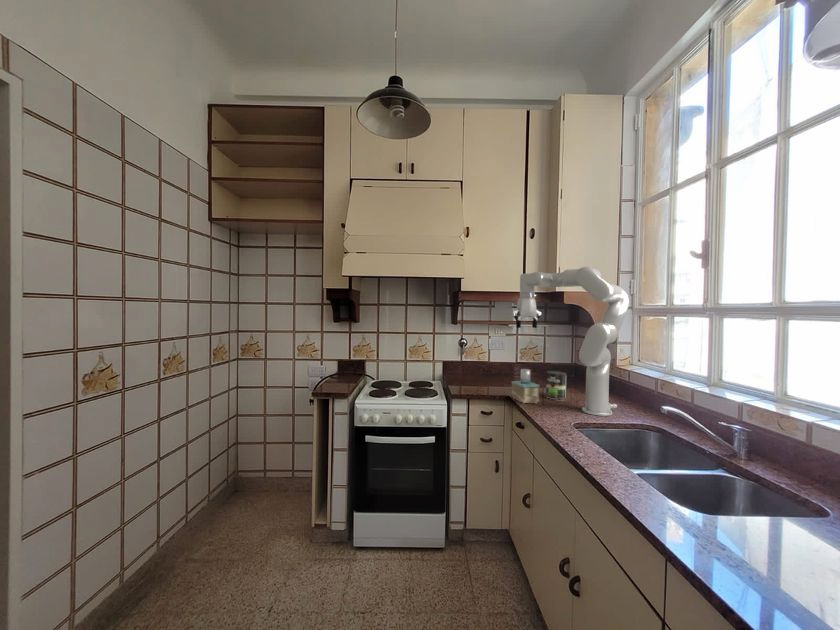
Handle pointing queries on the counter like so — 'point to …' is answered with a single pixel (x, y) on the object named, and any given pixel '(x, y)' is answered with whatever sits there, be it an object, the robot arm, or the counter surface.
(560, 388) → the glass terrarium
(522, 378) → the steel weight
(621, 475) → the counter surface
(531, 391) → the box
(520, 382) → the lid
